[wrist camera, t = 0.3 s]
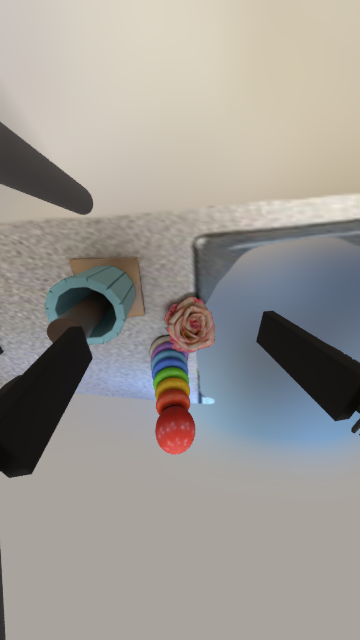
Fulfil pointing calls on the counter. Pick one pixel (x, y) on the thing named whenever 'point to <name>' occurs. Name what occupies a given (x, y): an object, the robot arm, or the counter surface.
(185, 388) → the stacking toy
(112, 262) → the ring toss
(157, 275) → the counter surface
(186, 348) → the flower
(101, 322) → the planter pot
